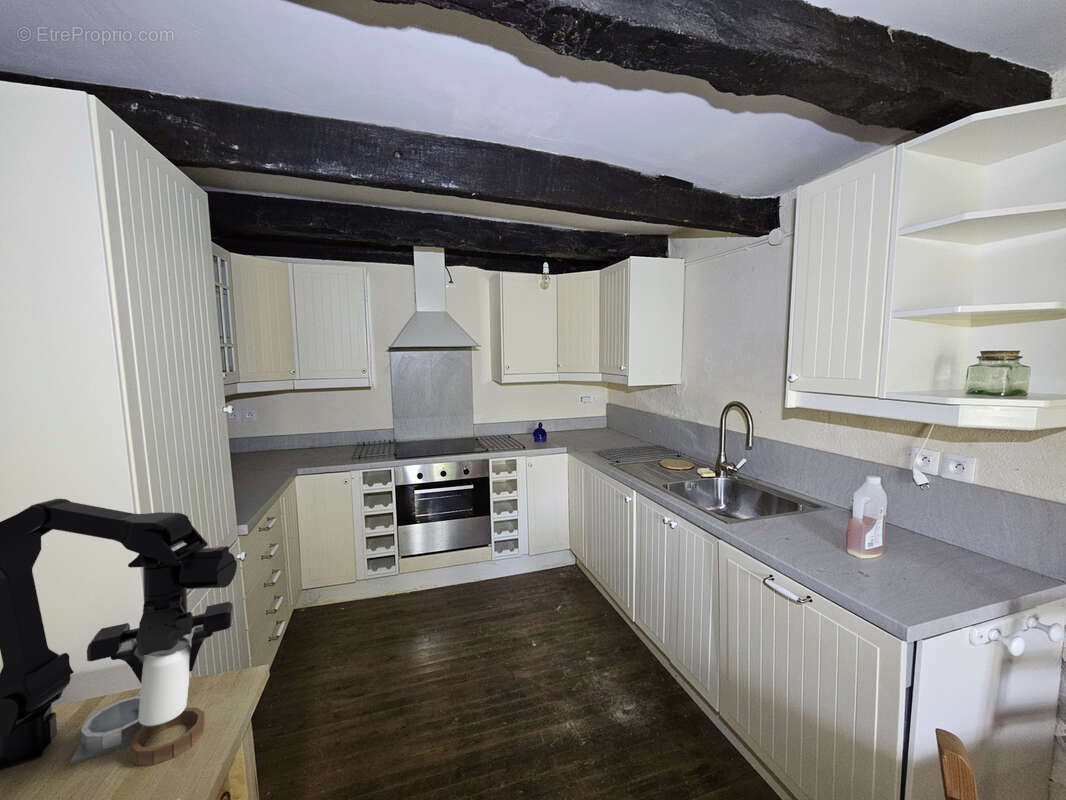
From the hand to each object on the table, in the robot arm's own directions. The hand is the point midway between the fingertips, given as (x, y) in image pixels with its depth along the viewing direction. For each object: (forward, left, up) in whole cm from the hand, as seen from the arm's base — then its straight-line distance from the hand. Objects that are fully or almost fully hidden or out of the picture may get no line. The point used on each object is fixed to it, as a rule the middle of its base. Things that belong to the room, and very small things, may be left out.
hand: (167, 676), depth 75 cm
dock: (-8, +7, -12) cm, 16 cm away
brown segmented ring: (0, 0, -12) cm, 12 cm away
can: (-1, 0, -7) cm, 7 cm away
